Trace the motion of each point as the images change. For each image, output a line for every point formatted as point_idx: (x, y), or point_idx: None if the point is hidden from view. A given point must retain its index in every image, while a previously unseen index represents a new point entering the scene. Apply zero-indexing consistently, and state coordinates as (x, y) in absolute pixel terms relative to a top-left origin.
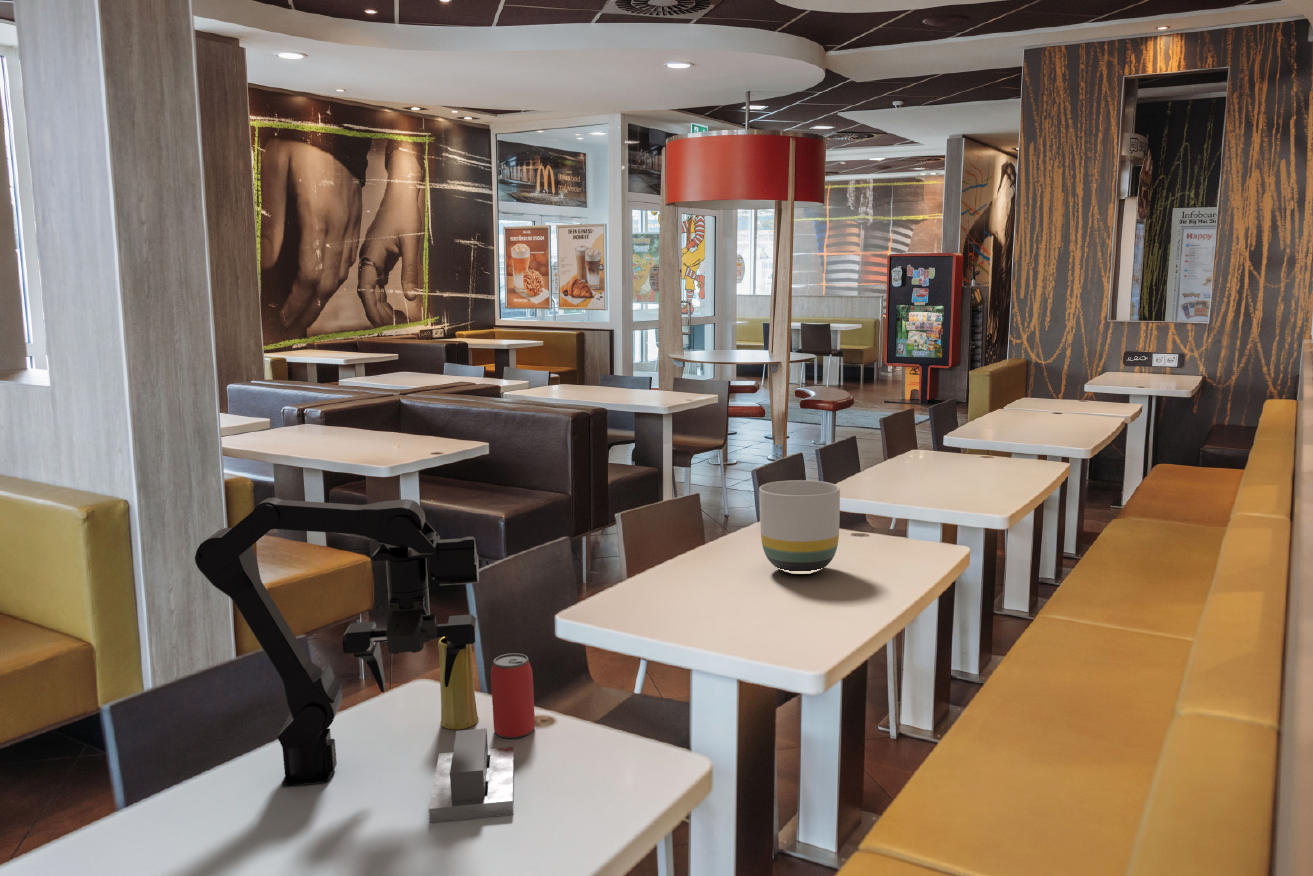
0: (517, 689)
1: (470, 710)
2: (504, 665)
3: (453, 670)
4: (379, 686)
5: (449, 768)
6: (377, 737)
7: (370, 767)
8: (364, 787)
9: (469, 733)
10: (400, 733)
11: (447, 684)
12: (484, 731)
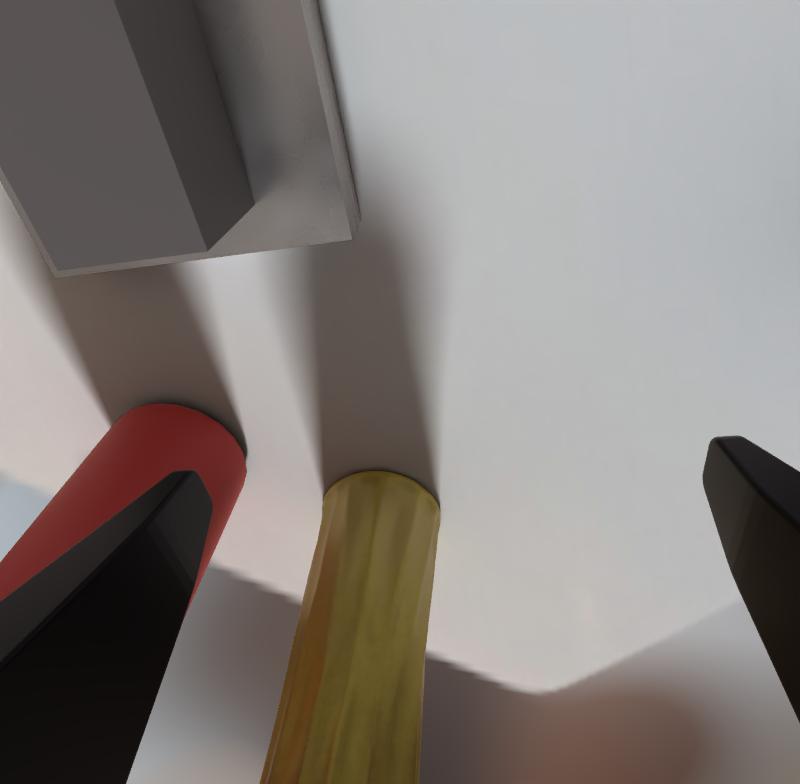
0: (27, 543)
1: (326, 529)
2: None
3: (341, 681)
4: (787, 469)
5: (248, 72)
6: (648, 452)
7: (665, 229)
8: (687, 17)
9: (116, 212)
10: (567, 468)
11: (163, 483)
12: (44, 232)
